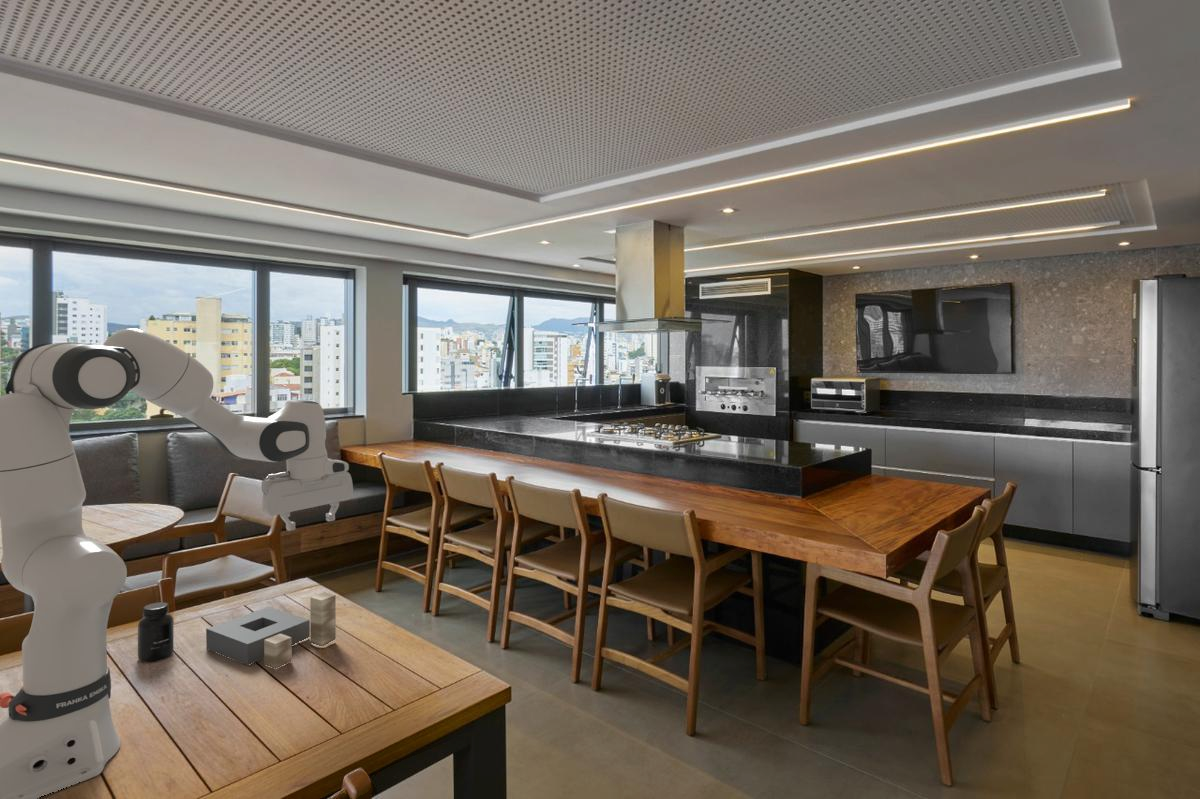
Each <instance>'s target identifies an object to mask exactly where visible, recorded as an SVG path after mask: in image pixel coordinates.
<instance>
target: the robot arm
mask: <svg viewBox="0 0 1200 799" xmlns="http://www.w3.org/2000/svg"><path fill="white" fill-rule="evenodd" d="M213 390H214V377H213V375H212V373H211V372H210V371H209V370H208V369H207V368H206V367H205V366H204V365H203V364H202V363H201V361H198V360H197V359H196V358H194V357H193V356H192V355H190V354H188V353H187V352H185V351H184V350H182V349H181V348H179V347H178V346H175V345H174V344H172V343H171V342H169V341H167V340H165V339H163V338H160V337H158V336H157V335H154V334H151V333H149V332H147V331H144V330H142V329H140V328H130V327H129V328H125V329H121V330H118V331H117V332H114V334H112V335H111V336H109V337H108V338H107V339H106V340H105V341H104V343H103V344H101V345H100V344H81V343H77V342H56V343H41V344H38V345H35V346H31V347H30V348H28V349H26V350H24V351H23V352H22V353H20V354H19V355H18V357H17V358H16V359H15V360H14V363H13V365H12V368H11V370H10V377H9V379H8V382H7V384H6V387H5V394H3V395H1V396H0V526H1V527H0V528H1V546H2V556H1V559H0V568H1V571H2V573H3V575H4V577H5V578H6V580H7V581H8V583H9V584H10V585H11V586H12V587H13V588H14V589H16V590H17V591H20V592H22V593H24V594H26V595H28V596H30V597H31V599H32V601H33V604H34V606H33V608H34V610H33V615H32V616H33V617H32V622H31V627H30V629H29V632H28V634H27V635H26V636H25V638H24V639H23V641H22V643H21V656H22V657H21V658H22V659H21V660H22V664H21V665H22V686H21V688H20V689H19V691H18V692H17V693H16V694H15V696H14V695H12V694H11V693H10V692H2V693H0V708H1V709H7V710H8V715H7V716H6V717H5V718H3V720H2V721H0V799H37V798H38V799H40V798H39V797H41V796H43V795H46V796H48V795H47V794H49V793H51V794H53V793H52V792H54V793H56V792H59V791H61V789H62V790H64V789H66V787H67V788H70V787H72V786H74V785H77V784H79V782H80V783H81V782H85V781H87V780H90V779H93V778H94V777H97V776H99V775H100V774H102V773H103V771H104V769H105V765H106V764H107V763H108V762H109V760H111V758H113V756H115V755H116V754H117V753H118V751H119V750H120V747H121V740H120V738H119V736H118V733H117V731H116V728H115V725H114V721H113V716H112V712H111V704H110V699H111V693H112V679H111V671H110V668H109V667H108V661H107V660H108V659H107V657H108V656H107V655H108V654H107V653H108V652H107V646H108V645H107V643H108V642H107V630H108V622H109V616H110V613H111V608H112V605H113V602H114V599H115V598H116V597H117V596H118V595H119V593H120V592H121V591H122V590H123V588H124V586H125V583H126V580H127V576H128V575H127V574H128V572H127V571H128V570H127V566H126V564H125V561H124V560H123V559H122V557H120V555H119V554H117V552H116V551H114V549H112V548H111V547H110V546H108V545H106V544H104V543H103V542H102V543H101V542H98V541H95V540H92V539H89V538H88V536H86V534H85V531H84V529H83V520H82V519H83V505H84V504H83V503H85V501H86V498H87V490H86V487H85V484H84V481H83V476H82V472H81V469H80V465H79V462H78V457H77V455H76V450H75V448H74V443H73V441H72V438H71V435H70V423H71V419H72V417H73V416H72V415H73V413H74V411H75V410H83V409H84V410H98V409H102V408H107V407H109V406H112V405H114V404H115V403H117V402H119V401H120V400H122V399H123V398H125V396H126V395H127V394H128V393H129V392H130V391H131V392H132V393H134V394H136V395H137V396H139V397H140V398H142V399H144V400H146V401H148V402H149V403H151V404H153V405H154V406H157V407H159V408H161V409H163V410H166V411H168V412H171V413H174V414H176V415H179V416H180V417H182V418H184V419H185V420H187V422H190V423H191V424H193V425H195V426H196V427H198V428H199V429H201V430H203V431H204V432H206V433H207V434H208V435H210V436H211V437H212V438H213V439H215V441H216V442H217V444H218V445H219V446H220V448H221V450H223V452H224V453H225V454H226V455H227V456H229V458H232V459H236V460H252V461H260V462H268V463H279V462H284V461H285V462H286V463H285V464H286V471H283V472H278V473H271V474H268V475H267V476H266V477H265V478H263V479H262V481H261V491H262V492H261V493H262V512H264V513H265V514H266V515H268V516H270V517H274V516H279V517H280V518H281V520H282V521H283V522H284V523H285V529H286V531H287V532H292V531H295V530H296V529H297V528H296V522H295V521H291V519H289V517H291V513H292V512H296V511H301V510H305V509H310V508H315V507H320V506H323V505H328V504H329V505H330V507H329V511H328V512H326V513H325V520H326V522H333V521H336V513H337V511H338V509H339V507H340V502H341V501H347V500H351V499H352V497H353V495H354V486H353V479H352V475H351V473H350V472H348V471H349V469H350V464H349V463H348V462H346V461H344V460H340V459H335V458H332V457H328V450H327V447H326V439H327V429H326V427H327V426H326V419H325V413H324V410H323V407H322V405H321V403H319V402H317V401H313V400H301V399H289V400H287V401H285V404H284V405H283V406H282V407H281V408H280V409H279V410H278V411H276V412H274V413H273V414H271V415H269V416H268V417H259V416H252V415H244V414H237V413H233V411H231V410H229V409H228V408H227V407H225V406H224V405H222V404H220V403H219V402H218V401H216V400H215V399H213V398H212V397H211V395H212V393H213ZM10 392H11V393H10ZM71 785H72V786H71ZM63 788H64V789H63ZM58 790H59V791H58ZM49 795H50V794H49ZM41 798H42V797H41Z"/></svg>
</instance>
